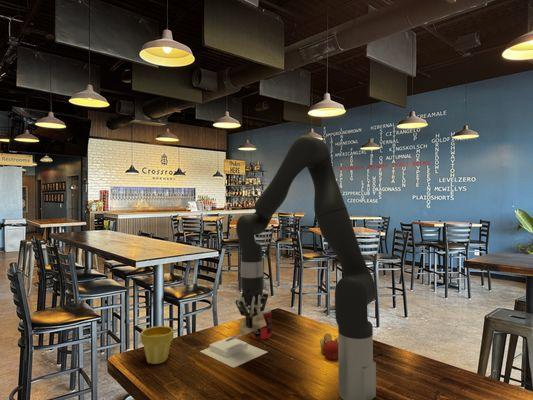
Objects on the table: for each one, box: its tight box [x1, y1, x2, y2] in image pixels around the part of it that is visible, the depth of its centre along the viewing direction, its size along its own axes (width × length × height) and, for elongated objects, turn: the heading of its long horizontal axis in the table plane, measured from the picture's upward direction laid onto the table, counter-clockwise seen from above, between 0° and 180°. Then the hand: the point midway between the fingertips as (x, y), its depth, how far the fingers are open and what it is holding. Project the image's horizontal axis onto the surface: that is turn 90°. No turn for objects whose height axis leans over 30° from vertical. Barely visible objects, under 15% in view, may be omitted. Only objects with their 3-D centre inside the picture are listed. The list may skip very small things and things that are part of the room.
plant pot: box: [140, 325, 174, 365], centre depth 123 cm, size 10×10×10 cm
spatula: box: [226, 314, 266, 342], centre depth 123 cm, size 17×7×4 cm, turn 46°
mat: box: [199, 343, 268, 368], centre depth 128 cm, size 18×16×1 cm
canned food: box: [250, 305, 272, 341], centre depth 142 cm, size 8×8×11 cm
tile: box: [209, 336, 249, 358], centre depth 129 cm, size 2×10×9 cm
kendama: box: [319, 332, 338, 360], centre depth 129 cm, size 8×6×18 cm
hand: (252, 326), depth 121 cm, fingers closed on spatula, 2 cm apart
